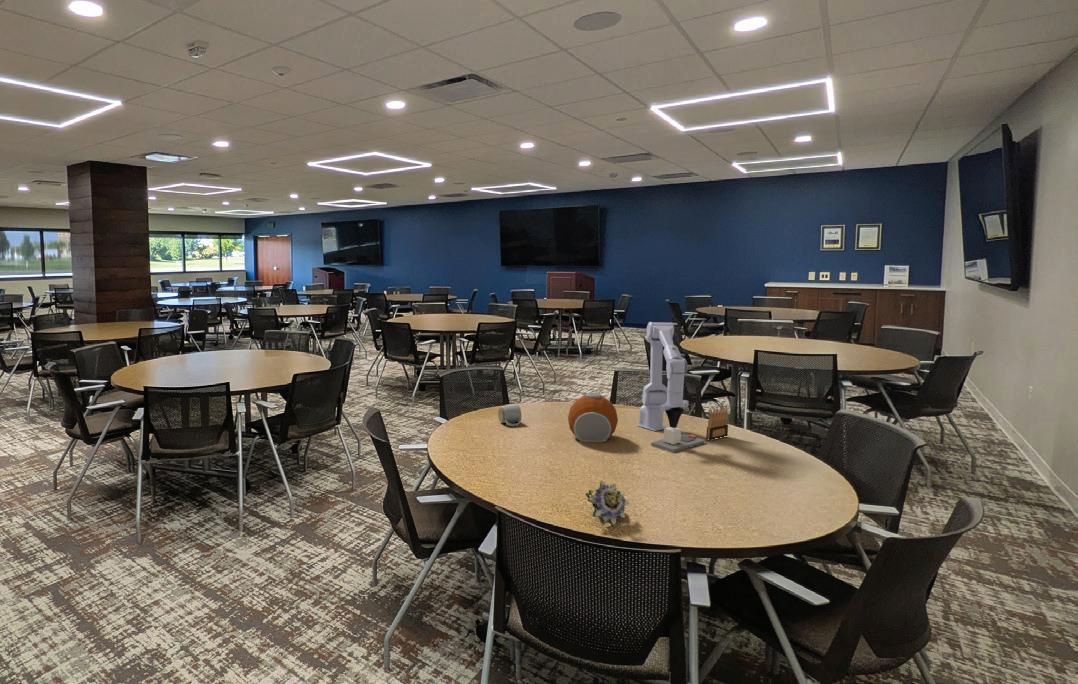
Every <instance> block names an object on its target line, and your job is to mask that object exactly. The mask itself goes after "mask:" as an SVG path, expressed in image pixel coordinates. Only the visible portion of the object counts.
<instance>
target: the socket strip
mask: <svg viewBox="0 0 1078 684" xmlns="http://www.w3.org/2000/svg"><path fill="white" fill-rule="evenodd" d="M706 441H707V440H706V438H705V439H704V438H700V437H699V436H698V437H697V435H695V434H686V433H681V441H680V443H676V445H675V446H672V445H671V444H666V442H664V438H662V439H659V440H655V441H652V442H650V446H651V447H654V448H657V449H661V450H663V451H666V450H667V452H669V451H670V453H672V452H674V453H677V452H679V450H680V451H683V450H682V449H684V450H686V449H685V448H687V449H689V448H688V447H690V448H692V447H691V446H694V445H697V446H699V445H698V444H700V445H702V444H701V443H704V442H706ZM706 443H707V442H706ZM704 444H705V443H704ZM694 447H695V446H694ZM676 451H677V452H676Z"/></svg>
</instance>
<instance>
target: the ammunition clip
mask: <svg viewBox="0 0 1078 684" xmlns="http://www.w3.org/2000/svg"><path fill="white" fill-rule="evenodd" d="M728 420H729V419H728V408H727V406H726V407H725V408H724V407H722V409H721V408H719V409H718V408H716V409H713V410H712V409H710V411H709V416H708V423H707V426H706V436H705V440H706V439H709V440H711V439H715V438H720V437H724V436H728V434H729V433H728V432H729V424H728ZM709 440H708V441H709Z"/></svg>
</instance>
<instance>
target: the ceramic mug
mask: <svg viewBox="0 0 1078 684" xmlns="http://www.w3.org/2000/svg"><path fill="white" fill-rule="evenodd" d="M497 410H498V411H497V414H498V415H497V416H498V420H499V422H500V423H501V424H503V423H506V425H507V426H508V425H509V426H508V427H510V426H517V425H518V426H519V425H520V423H521V421H522V410H521V407H520V405H519V404H518V403H516V404H515V403H514V404H510V405H509V404H508V405H503V406H500V407H499V409H497ZM515 422H518V423H515ZM518 426H517V427H518Z"/></svg>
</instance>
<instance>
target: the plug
mask: <svg viewBox="0 0 1078 684" xmlns="http://www.w3.org/2000/svg"><path fill="white" fill-rule="evenodd" d="M681 434H682V429H681V428H678V427H676V428H672V427H670V426H667V428H664V429H663V439H664V442H666V444H669V443H670V444H669V445H672V446H674V445H675V444H676V443H680V441H681Z"/></svg>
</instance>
